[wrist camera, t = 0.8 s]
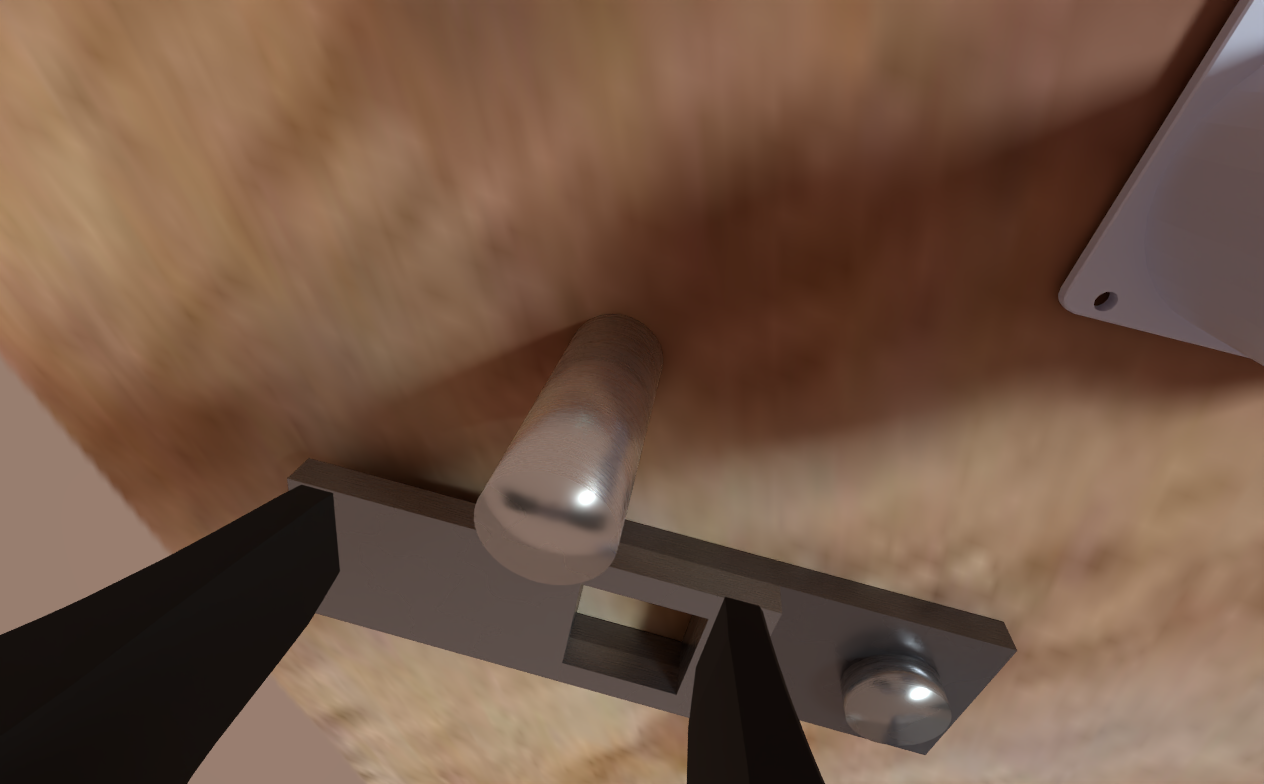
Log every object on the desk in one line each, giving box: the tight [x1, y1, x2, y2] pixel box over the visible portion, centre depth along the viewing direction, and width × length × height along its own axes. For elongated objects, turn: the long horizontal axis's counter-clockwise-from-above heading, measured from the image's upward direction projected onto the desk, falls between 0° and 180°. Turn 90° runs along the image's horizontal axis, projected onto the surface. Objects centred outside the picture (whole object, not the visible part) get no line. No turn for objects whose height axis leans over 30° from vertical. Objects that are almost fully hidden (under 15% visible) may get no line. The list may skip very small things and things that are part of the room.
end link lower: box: [570, 520, 1017, 755], centre depth 23 cm, size 18×7×2 cm, turn 78°
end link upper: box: [287, 458, 782, 718], centre depth 23 cm, size 18×7×2 cm, turn 78°
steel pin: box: [474, 314, 663, 585], centre depth 15 cm, size 3×3×8 cm
